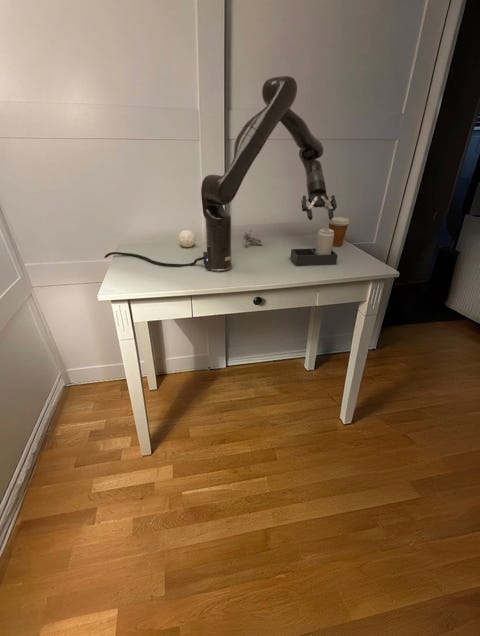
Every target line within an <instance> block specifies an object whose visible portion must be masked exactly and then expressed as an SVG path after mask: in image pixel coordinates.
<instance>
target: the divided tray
mask: <svg viewBox="0 0 480 636" xmlns="http://www.w3.org/2000/svg"><path fill="white" fill-rule="evenodd" d="M315 251H316V247H315V248H314V247H313V248H291V249H290V258H289V259H290V260H291V262H292V263H293V264H294V266H295V267H304V266H306V267H307V266H326V265H327V266H332V265H333V266H335V265H337V262H338V254H337V253H336V252H335V251H334V250H333V249H332V251H331V255H317V254H316V253H315Z"/></svg>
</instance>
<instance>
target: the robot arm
mask: <svg viewBox="0 0 480 636" xmlns="http://www.w3.org/2000/svg"><path fill="white" fill-rule="evenodd" d="M297 94H298V84H297V81H296V79H295V78H294V77H292V76H290V75H282V76H281V75H280V76H274V77H270V78H268V79H266V80H265V81H264V83H263V85H262V89H261V97H262V101H263V103H264V104H265V107H263V109H261V110H260V111H258V112H257V113H256V114H255V115H254V116H252V117H251V118H250V119H249V120H247V122H246V123H245V124H244V125H243V127H241V130H240V132H238V134H237V135H236V138H235V140H234V144H233V152H232V153H233V158H232V161H231V163H230V165H229V167H228V168H227V170H226V171H225V172H224V174H223V175H220V174H219V175H218V174H208V175H206V176H204V178H203V180H202V182H201V186H200V197H201V206H202V214H203V217H204V220H205V235H206V239H205V240H206V242H205V243H206V251H203V253H202V255H203V256H201V257H198V258H196V259H194V260H193V262H189V263H169V262H167V263H166V262H160V261H157V260H154V259H151V258H149V257H147V256H144V255H141V254H137V253H131V252H121V251H112V252H108V253H106V254H105V255H104V256H103V258H104V259H107V258H109V257H110V256H112V255H121V256H127V257H128V256H129V257H135V258H140V259H143V260H144V261H147V262H150V263H152V264H155V265H159V266H165V267H190V266H191V267H192V266H194V265H196V264H197V262H199V261H203V265H206V266H207V267H206V268H207V271H212V272H218V273H219V272H227V271H229V270H231V269H232V216H231V214H230V213H228V212H227V211H226V209H225V207H224V206H227V205H230V204H231V203H232V201H233V200H234V199H235V198H236V195H237V193H238V191H239V189H240V187H241V185H242V183H243V181H244V179H245V177H246V175H247V173H248V172H249V171H250V169H251V166H252V165H253V163H254V161H255V159H256V158H257V157H258V155H259V154H260V152H261V151H262V150H263V148H264V146H265V144H266V142H267V141H268V139H269V138H270V136H271V135H272V133H273V131H274V130H275V129H276V127H277V125H279V123H281V124H282V125H283V127H284V128H285V130H286V131H287V132H288V134H289V135H290V137H291V139H292V140H293V142H294V143H295V145H296V147H297V148H299V150H298V153H297V154H298V158H299V160H300V162H301V164H302V166H303V168H304V172H305V183H306V184H305V185H306V190H307V196H306V194H305V195H303V196H302V197H301V199H300V201H301V211H302V212H306V215H307V219H308V221H313V218H314V216H313V210H312V209H313V207H314V208H323V209H324V210H326V211H327V215H328V220H331V219H332V218H333V217H335V216H334V212H335V211H336V209H337V208H338V204H337V201H336V196H335V195H334V194H332V195H331V196H328V195H327V187H326V180H325V176H324V172H323V166H322V162H321V161H320V160H318V159H320V158H321V157H322V156H323V155H324V152H325V151H324V150H325V149H324V145H323V144H322V142H321V141H320V140H319V139H318V138H317V137H316V136H315V135H313V134H312V133H311V130H310V129H309V127H308V124H307V123H306V121H305V120H304V119H302V117H300V116H299V114H297V113H296V112H295V111H294V110H292V109H291V107H292V106H293V104H294V103H295V101H296V97H297ZM307 202H308V203H309V206H308V205H307Z"/></svg>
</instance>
